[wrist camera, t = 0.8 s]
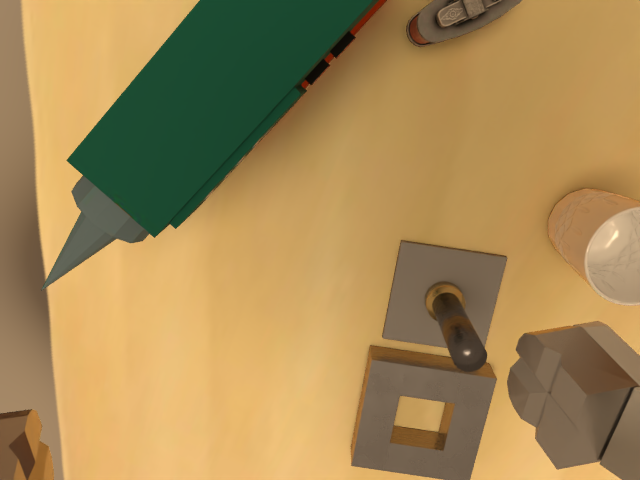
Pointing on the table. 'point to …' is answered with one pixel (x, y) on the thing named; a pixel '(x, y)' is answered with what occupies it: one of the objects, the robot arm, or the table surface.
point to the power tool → (199, 113)
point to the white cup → (600, 241)
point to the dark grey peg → (455, 326)
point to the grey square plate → (430, 268)
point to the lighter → (454, 19)
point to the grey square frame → (412, 444)
